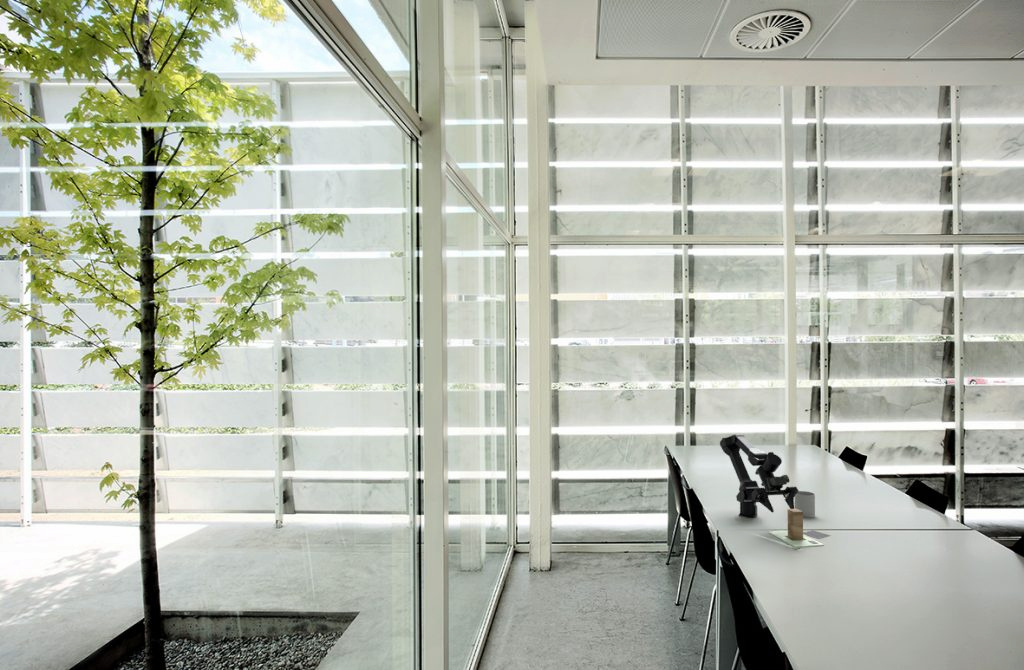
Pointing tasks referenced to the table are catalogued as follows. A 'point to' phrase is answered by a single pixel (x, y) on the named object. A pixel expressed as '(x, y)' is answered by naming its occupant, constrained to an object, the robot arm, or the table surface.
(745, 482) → the robot arm
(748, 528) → the table surface
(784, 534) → the flange plate
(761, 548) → the table surface
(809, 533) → the pad
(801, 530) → the post
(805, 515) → the cup
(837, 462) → the table surface
